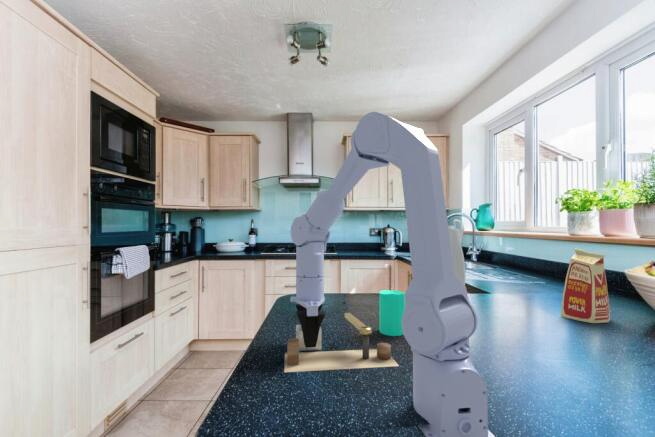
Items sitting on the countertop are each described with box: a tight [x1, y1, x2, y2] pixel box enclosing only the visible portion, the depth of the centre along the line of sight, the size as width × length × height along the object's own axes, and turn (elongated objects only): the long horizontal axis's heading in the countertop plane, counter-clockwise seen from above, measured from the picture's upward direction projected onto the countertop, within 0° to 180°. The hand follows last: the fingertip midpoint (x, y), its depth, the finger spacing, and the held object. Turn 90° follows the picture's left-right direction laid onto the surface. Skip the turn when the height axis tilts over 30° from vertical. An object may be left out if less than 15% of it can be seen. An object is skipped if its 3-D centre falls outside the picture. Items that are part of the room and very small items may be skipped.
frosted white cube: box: [295, 324, 323, 352], centre depth 62 cm, size 4×5×4 cm
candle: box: [378, 289, 406, 337], centre depth 72 cm, size 6×6×12 cm
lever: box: [344, 312, 372, 336], centre depth 62 cm, size 2×12×1 cm, turn 14°
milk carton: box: [560, 247, 611, 324], centre depth 88 cm, size 9×9×20 cm
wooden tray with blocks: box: [283, 334, 400, 373], centre depth 56 cm, size 8×20×6 cm, turn 97°
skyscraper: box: [448, 219, 466, 287], centre depth 80 cm, size 8×8×28 cm
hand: (309, 342), depth 62 cm, fingers closed on frosted white cube, 4 cm apart
